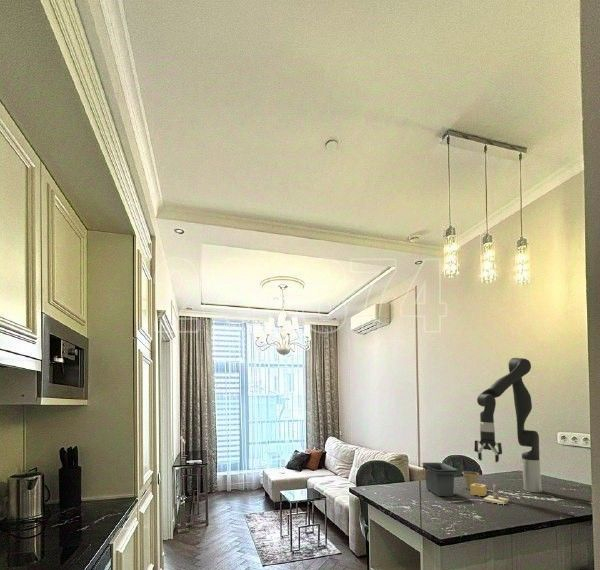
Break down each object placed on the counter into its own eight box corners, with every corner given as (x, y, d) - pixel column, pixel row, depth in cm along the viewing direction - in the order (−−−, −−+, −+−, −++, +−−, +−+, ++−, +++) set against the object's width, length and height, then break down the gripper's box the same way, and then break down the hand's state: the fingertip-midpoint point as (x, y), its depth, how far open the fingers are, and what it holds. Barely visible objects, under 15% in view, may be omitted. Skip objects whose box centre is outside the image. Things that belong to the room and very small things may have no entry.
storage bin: (460, 497, 255) (459, 469, 258) (433, 498, 253) (432, 469, 255) (442, 488, 276) (441, 462, 278) (417, 489, 273) (416, 462, 276)
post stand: (489, 498, 255) (488, 482, 257) (509, 501, 249) (508, 485, 251) (483, 501, 247) (482, 485, 249) (503, 505, 241) (502, 488, 243)
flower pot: (463, 489, 274) (462, 473, 275) (462, 486, 282) (462, 470, 284) (480, 491, 271) (479, 475, 272) (479, 487, 280) (478, 472, 281)
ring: (474, 492, 267) (474, 483, 268) (486, 494, 263) (486, 485, 264) (470, 494, 262) (470, 485, 263) (482, 496, 258) (482, 487, 259)
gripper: (502, 431, 267) (503, 462, 264) (476, 429, 276) (477, 459, 273) (498, 432, 262) (500, 463, 258) (472, 429, 270) (473, 460, 267)
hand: (488, 461), depth 265 cm, fingers open, 8 cm apart
